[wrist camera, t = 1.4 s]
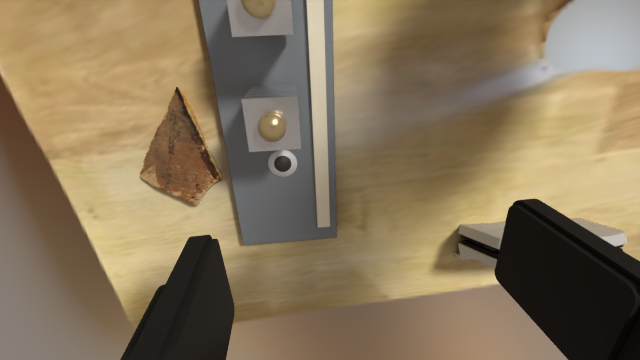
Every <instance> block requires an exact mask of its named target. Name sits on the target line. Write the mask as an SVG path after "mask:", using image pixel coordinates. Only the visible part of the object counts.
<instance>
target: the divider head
mask: <svg viewBox="0 0 640 360" xmlns="http://www.w3.org/2000/svg"><path fill="white" fill-rule="evenodd" d="M241 100H242V107H243V114H244V120H245V127H246V134H247V141H248V147H249V152H259V151H274V150H290V149H301V138H300V124H299V109H298V95H297V84H291V85H271V86H252V87H251V88H250V89H249V90H248V92H247V93H246V94H245V95H244V97H243V98H242V99H241Z"/></svg>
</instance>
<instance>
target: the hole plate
mask: <svg viewBox="0 0 640 360" xmlns="http://www.w3.org/2000/svg"><path fill="white" fill-rule="evenodd" d="M199 4H200V10H201V15H202V20H203V26H204V31H205V37H206V42H207V48H208V53H209V59H210V64H211V70H212V75H213V81H214V86H215V92H216V97H217V102H218V108H219V113H220V119H221V124H222V130H223V135H224V141H225V146H226V152H227V157H228V163H229V168H230V174H231V179H232V184H233V190H234V195H235V201H236V206H237V212H238V217H239V223H240V228H241V234H242V239H243V245H252V244H264V243H277V242H289V241H302V240H314V239H326V238H337V235H336V176H335V118H334V60H333V2H332V0H291V7H292V22H293V35H276V36H252V37H232V33H231V26H230V19H229V13H228V6H227V0H199ZM291 84H297V95H298V109H299V124H300V138H301V149H290V150H274V151H259V152H249V147H248V141H247V134H246V127H245V120H244V114H243V107H242V100H241V99H242V98H243V97H244V95H245V94H246V93H247V92H248V90H249V89H250V88H251V87H252V86H271V85H291Z"/></svg>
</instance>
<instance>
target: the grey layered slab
mask: <svg viewBox="0 0 640 360" xmlns="http://www.w3.org/2000/svg"><path fill="white" fill-rule="evenodd" d="M571 220H573V221H574V222H576V223H577V224H579V225H581V226H582V227H584V228H586V229H587V230H589V231H591V232H592V233H594V234H595V235H597V236H599V237H600V238H602V239H604V240H605V241H607V242H609V243H610V244H612V245H613V246H615V247H617V248H618V249H620V250H622V251H623V249H621V248H620V247H623V244H626V243H627V240H626V236H625V232H624V231H622V230H619V229H615V228H612V227H608V226H605V225H601V224H598V223H594V222H591V221H587V220H584V219H580V218H573V219H571ZM505 223H506V222H499V223H480V224H462V225H460V227H459V232H458V233H459V234H461V235H462V237H463V238H465V239H468V240H461V243H458V246H459V252H457V253H455V256H456V257H457V258H459V259H460V260H474V259H475V260H477V261H479V262H481V263H483V264H485V265H487V266H490V267H492V268H494V269H495V267H496V263H497V258H498V254H499V249H500V245H501V241H502V236H503V232H504V227H505Z"/></svg>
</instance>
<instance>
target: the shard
mask: <svg viewBox="0 0 640 360" xmlns="http://www.w3.org/2000/svg"><path fill="white" fill-rule="evenodd" d="M140 177H141V178H142V179H144V180H145V181H147V182H148V183H150V184H151V185H153V186H154V187H156V188H159V189H161V190H163V191H165V192H168V193H170V194H172V195H174V196H176V197H178V198H181V199H183V200H185V201H186V202H188V203H190V204H193V205H198V204H199V202H200V201H201V199H202V197H203V196H204V194H205V193H206V191H207V190H208V189H209V188H210V187H211V186H212V185H213V184H214V183H215V182H217V181H220V180H222V179H223V176H222V174H221V172H220V170H219V169H218V167H217V165H216V164H215V161H214V158H213V156H212V154H211V153H210V151H209V150H208V147H207V145H206V142H205V140H204V136H203V134H202V132H201V129H200V127H199V124H198V122H197V120H196V117H195V115H194V112H193V111H192V109H191V107H190V105H189V104H188V102H187V100H186V98H185V97H184V95H183V94H182V93H181V91H180V89H179V88H178V87H176V90H175V92H174V94H173V97H172V99H171V101H170V103H169V106H168V111H167V112H166V114H165V116H164V119H163V121H162V122H161V124H160V126H159V127H158V129H157V131H156V133H155V136H154V138H153V140H152V141H151V144H150V146H149V150H148V152H147V153H146V157H145V159H144V166H143V168H142V170H141V172H140Z"/></svg>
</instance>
